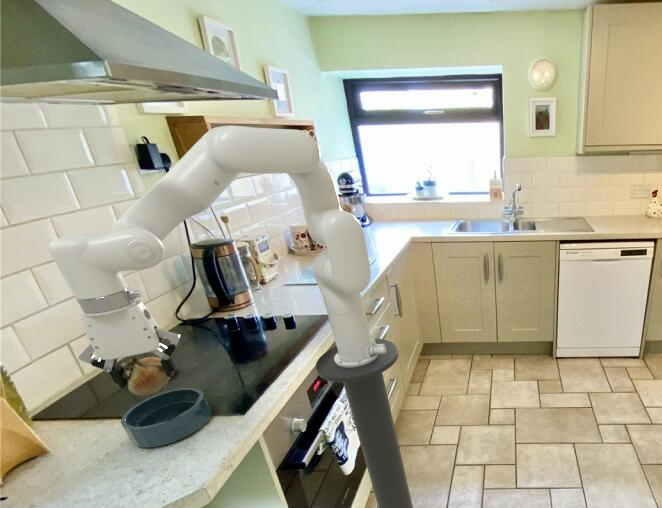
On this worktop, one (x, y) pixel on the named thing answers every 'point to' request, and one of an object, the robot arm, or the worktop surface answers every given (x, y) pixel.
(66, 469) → the worktop surface
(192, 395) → the bowl
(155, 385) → the onion
